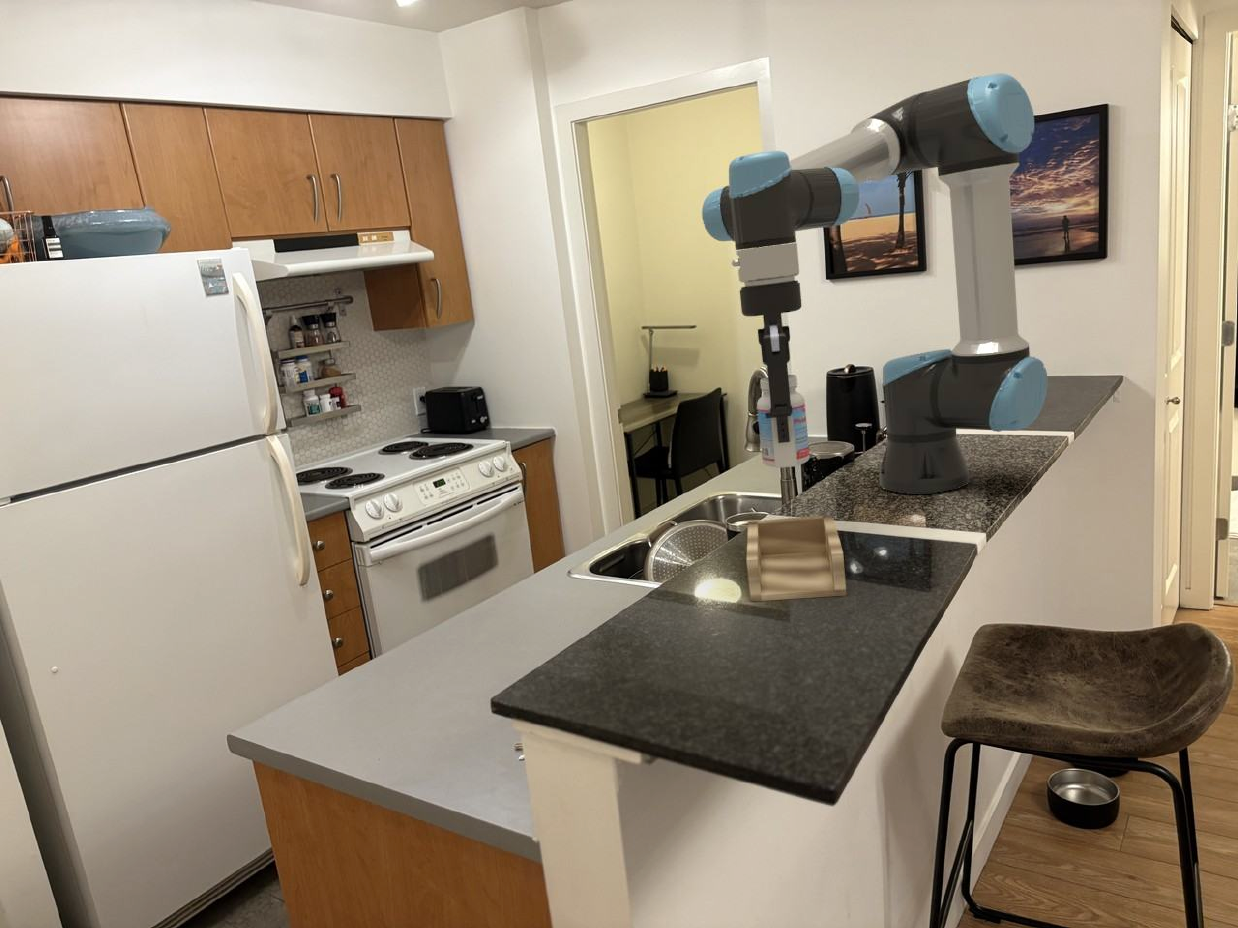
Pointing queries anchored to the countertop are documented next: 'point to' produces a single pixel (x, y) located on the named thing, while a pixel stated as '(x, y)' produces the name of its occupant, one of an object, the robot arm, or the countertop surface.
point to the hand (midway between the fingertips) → (785, 460)
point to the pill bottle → (798, 423)
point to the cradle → (795, 559)
